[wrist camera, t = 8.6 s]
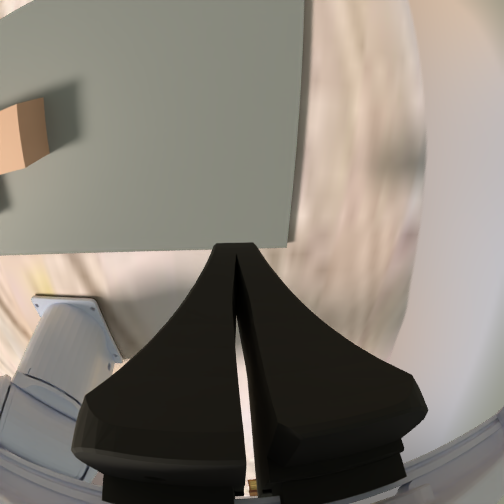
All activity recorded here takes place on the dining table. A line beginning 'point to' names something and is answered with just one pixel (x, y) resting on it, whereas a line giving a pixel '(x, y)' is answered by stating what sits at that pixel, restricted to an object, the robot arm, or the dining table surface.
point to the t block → (22, 135)
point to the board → (153, 124)
